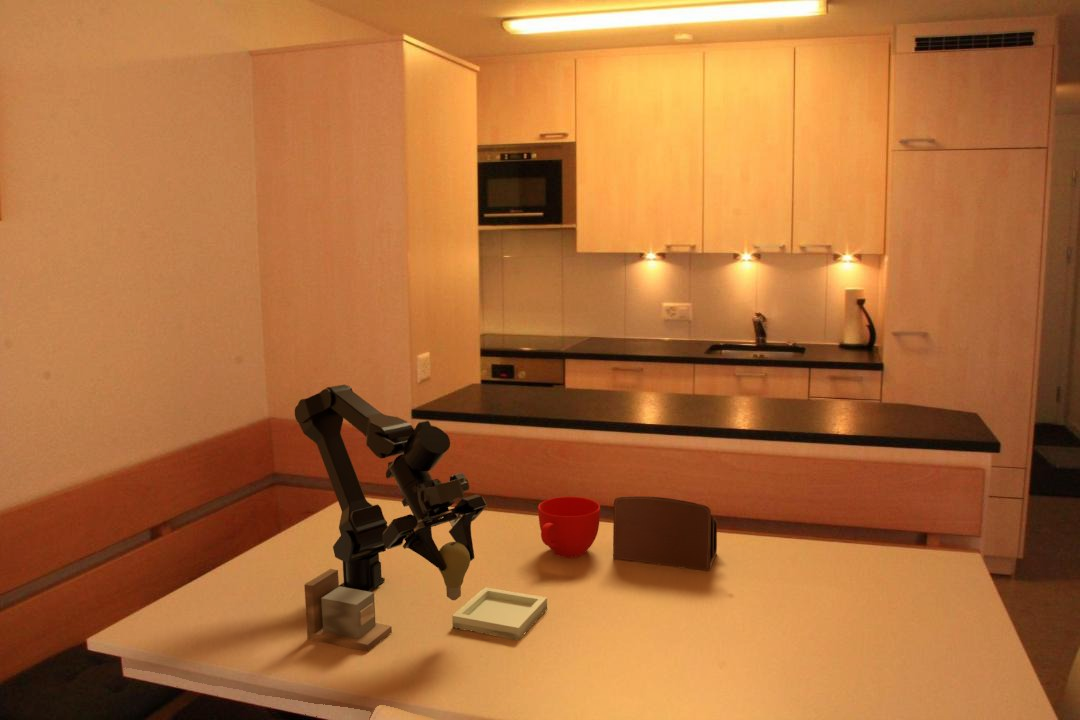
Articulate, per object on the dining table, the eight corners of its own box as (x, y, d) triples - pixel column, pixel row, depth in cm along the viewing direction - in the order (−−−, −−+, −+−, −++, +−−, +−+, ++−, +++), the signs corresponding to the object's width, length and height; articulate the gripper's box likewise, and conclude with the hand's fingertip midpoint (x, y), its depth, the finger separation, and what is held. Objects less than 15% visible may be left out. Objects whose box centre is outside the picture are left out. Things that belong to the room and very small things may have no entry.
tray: (452, 627, 144) (452, 615, 143) (485, 598, 155) (484, 587, 155) (518, 640, 139) (518, 627, 139) (547, 609, 150) (547, 597, 150)
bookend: (307, 638, 141) (304, 584, 139) (333, 620, 147) (330, 568, 146) (368, 651, 136) (365, 595, 135) (391, 632, 142) (389, 578, 141)
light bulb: (468, 607, 138) (467, 549, 136) (434, 606, 138) (433, 549, 137) (472, 592, 144) (472, 536, 142) (440, 591, 144) (439, 536, 142)
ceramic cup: (516, 562, 172) (515, 515, 170) (558, 536, 186) (558, 493, 184) (571, 575, 165) (571, 526, 163) (611, 547, 179) (611, 502, 177)
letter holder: (709, 572, 166) (710, 503, 164) (612, 560, 173) (612, 494, 170) (717, 554, 175) (718, 488, 173) (624, 543, 182) (624, 480, 180)
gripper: (390, 472, 133) (434, 557, 127) (479, 449, 146) (523, 526, 140) (364, 507, 140) (404, 590, 134) (451, 482, 153) (492, 557, 147)
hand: (458, 564), depth 139 cm, fingers closed on light bulb, 6 cm apart
